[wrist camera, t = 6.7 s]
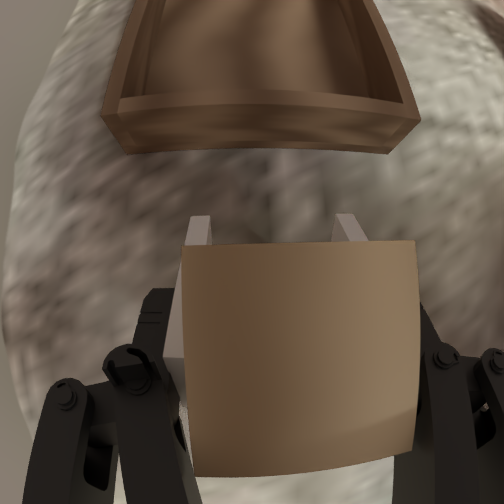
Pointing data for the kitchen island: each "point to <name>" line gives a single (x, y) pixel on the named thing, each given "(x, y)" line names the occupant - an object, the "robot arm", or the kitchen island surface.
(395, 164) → the kitchen island surface
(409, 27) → the kitchen island surface
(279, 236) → the kitchen island surface
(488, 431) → the robot arm
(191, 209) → the kitchen island surface
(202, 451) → the oak peg
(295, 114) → the walnut crate
